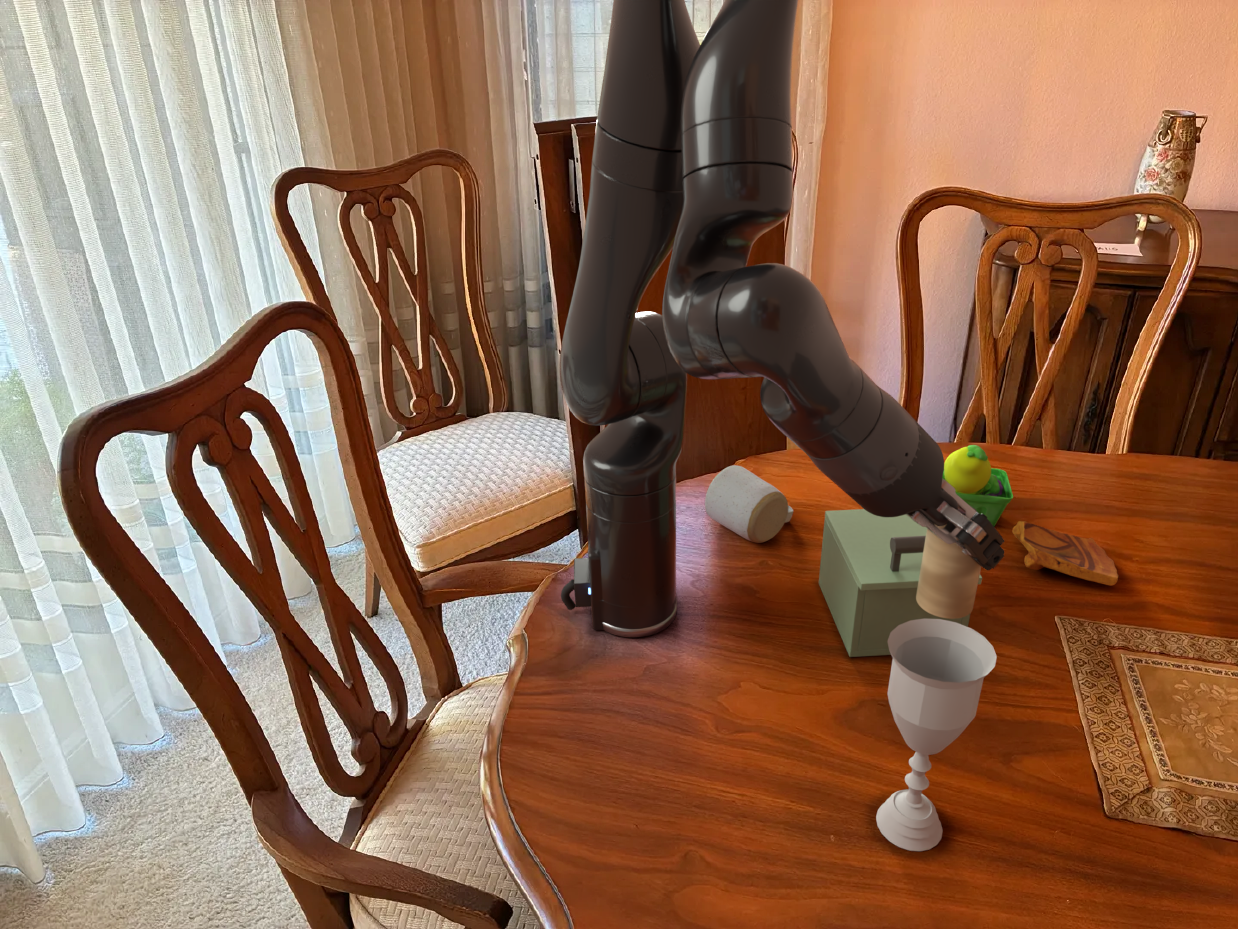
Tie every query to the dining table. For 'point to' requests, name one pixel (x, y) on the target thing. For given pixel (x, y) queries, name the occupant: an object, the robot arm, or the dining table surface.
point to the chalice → (929, 714)
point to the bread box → (865, 604)
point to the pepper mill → (946, 579)
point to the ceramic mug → (747, 504)
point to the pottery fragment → (1065, 553)
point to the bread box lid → (879, 548)
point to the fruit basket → (978, 481)
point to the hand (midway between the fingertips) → (970, 543)
